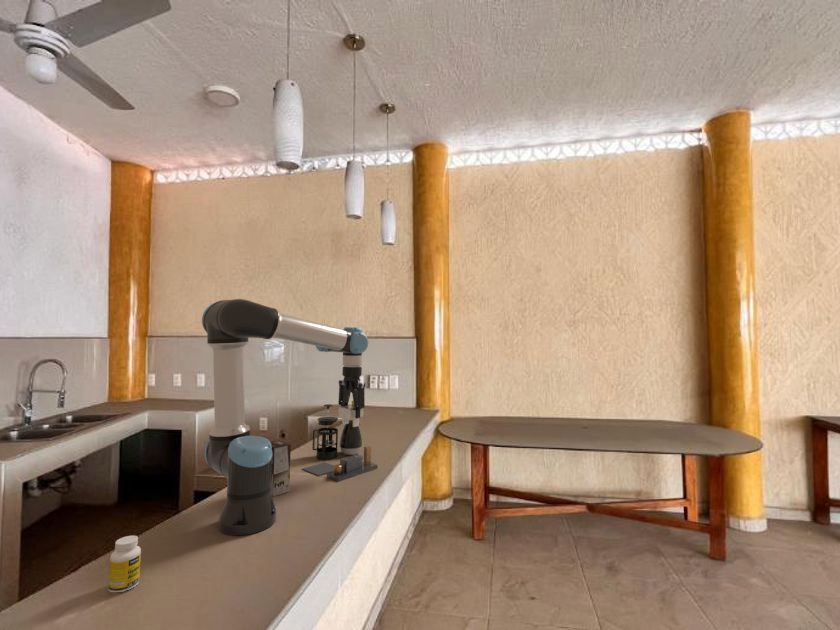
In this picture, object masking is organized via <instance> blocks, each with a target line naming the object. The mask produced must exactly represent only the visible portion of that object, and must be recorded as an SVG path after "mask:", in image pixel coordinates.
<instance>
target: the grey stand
mask: <svg viewBox="0 0 840 630" xmlns="http://www.w3.org/2000/svg"><path fill="white" fill-rule="evenodd" d="M378 468H379V467H378V464H376V463H373V462H372V446H370V445H366V446H364V447H363V456H362V455H359V454H355V455H348V456H345V457H343V458H340V459H339V464H338V463H337V464H336V463H335V464H334V471H332V472H329V473H327V474H326V478H328V479H331V480H333V481H336V482H338V483H339V482H342V481H344V480H348V479H350V478H353V477H357V476H359V475H363V474H365V473H368V472H370V471H373V470H377V469H378Z"/></svg>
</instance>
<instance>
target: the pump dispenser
mask: <svg viewBox="0 0 840 630" xmlns="http://www.w3.org/2000/svg"><path fill="white" fill-rule="evenodd" d="M360 426H361V423H360V422H359V426H357V427H353V419H349V423H348V424H344V426H343V428H342V432H341V435H340V439H339V448H340V451H341V453H343V454H344V455H347V456H352V455H358V454H359V453H360V451H361V450H362V446H363V438H362V432H361V429H360Z"/></svg>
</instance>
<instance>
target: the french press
mask: <svg viewBox="0 0 840 630" xmlns="http://www.w3.org/2000/svg"><path fill="white" fill-rule="evenodd" d="M333 406H334V405H333V404H324V405H323V407H326V409H327V412H330V411H329V410H330V407H333ZM338 420H339V417H337V416H321V417H318V418H317V422H318V423H317V424H318V425H320V426H325V427H321V428H318V429H316V428H315V429H313V430H312V451H316V455H315V458H316V460H319V461H333V460H336V459H338V457H339V455H338V442H339V441H338V438H339V437H338V436H339V435H338V434H339V429H338V428H336V427H331V426H332V425H334V424H335V423H336V422H337V421H338ZM333 435H335V440H333ZM320 436H321V440H320ZM315 440H316V443H315ZM315 444H316V448H315Z"/></svg>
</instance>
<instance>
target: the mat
mask: <svg viewBox="0 0 840 630" xmlns="http://www.w3.org/2000/svg"><path fill="white" fill-rule="evenodd" d="M334 465H335V464H334ZM334 465H333V464H331V463H327V462H325V461H324V462H320V463H318V464H313V465H310V466H307V467H304V468H301V470H303V471H305V472H307V473H309V474H312V475H315V476H317V477H320V476H321V477H322V476H324V475H327V473H329V472H332V471H334Z"/></svg>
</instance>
